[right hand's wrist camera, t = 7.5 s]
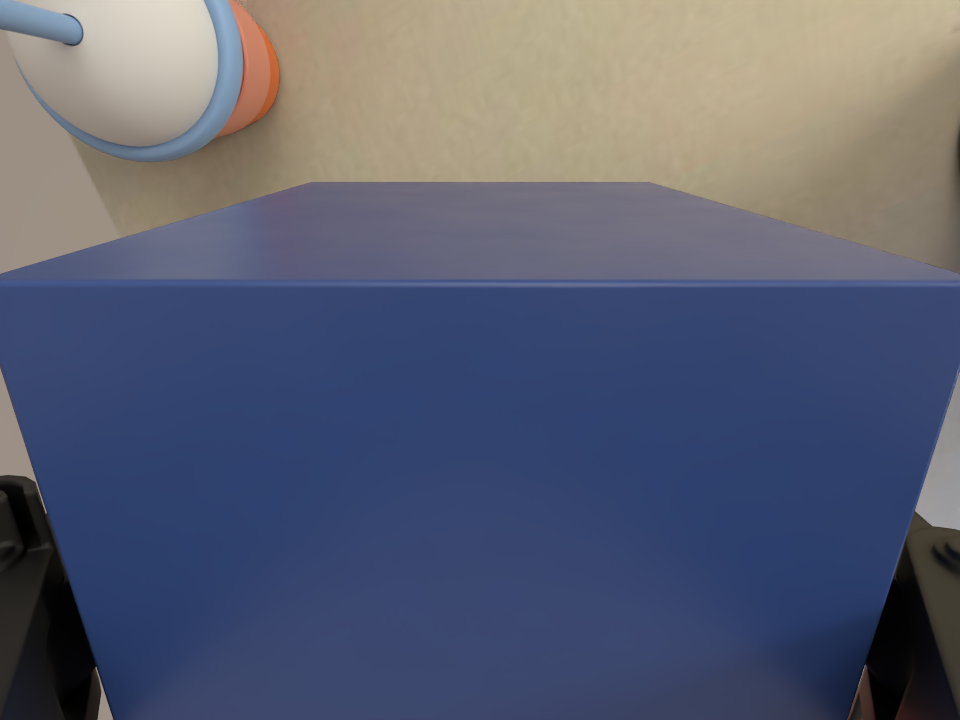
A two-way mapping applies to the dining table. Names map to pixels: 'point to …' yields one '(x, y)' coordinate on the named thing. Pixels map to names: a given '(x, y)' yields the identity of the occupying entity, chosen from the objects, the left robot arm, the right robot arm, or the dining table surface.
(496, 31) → the dining table surface
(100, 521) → the block
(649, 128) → the dining table surface
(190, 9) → the cup with straw
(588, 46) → the dining table surface
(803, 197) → the dining table surface
